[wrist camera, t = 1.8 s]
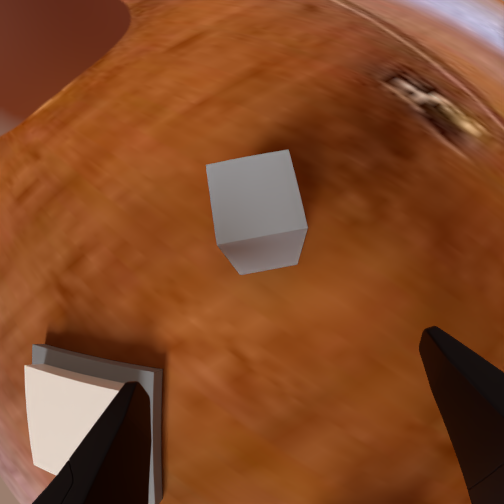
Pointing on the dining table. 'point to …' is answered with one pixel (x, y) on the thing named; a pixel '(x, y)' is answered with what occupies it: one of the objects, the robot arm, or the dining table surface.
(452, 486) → the dining table surface
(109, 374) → the square tray
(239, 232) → the slate block
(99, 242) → the dining table surface
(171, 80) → the dining table surface
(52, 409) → the off-white top slab
